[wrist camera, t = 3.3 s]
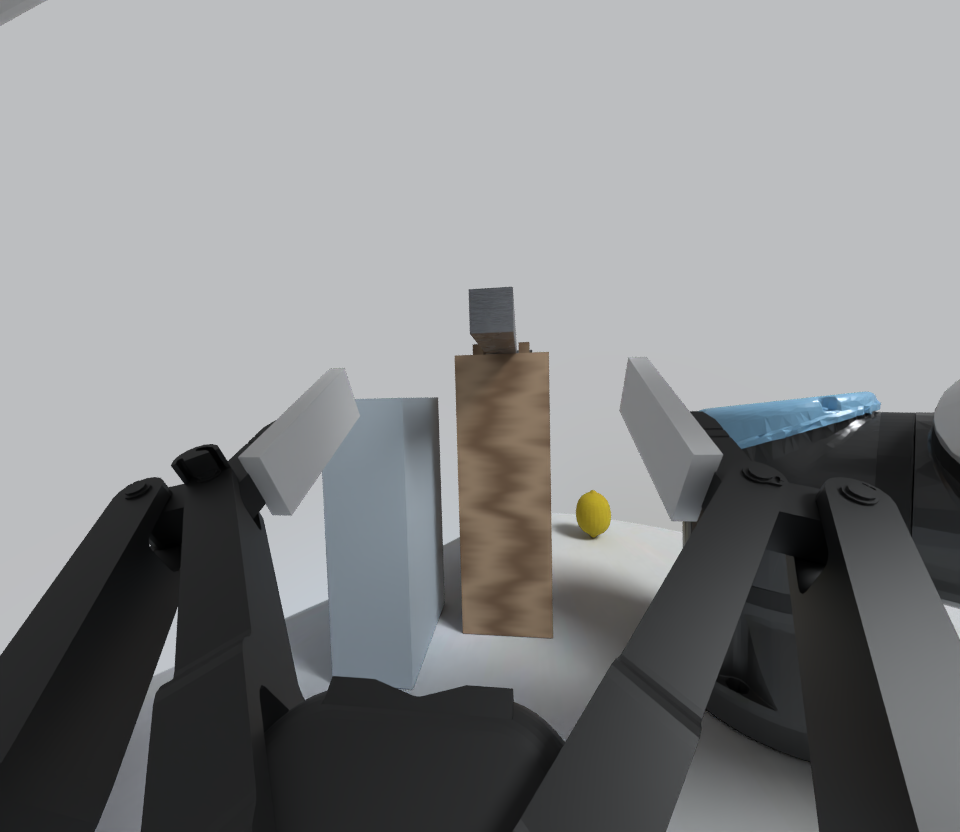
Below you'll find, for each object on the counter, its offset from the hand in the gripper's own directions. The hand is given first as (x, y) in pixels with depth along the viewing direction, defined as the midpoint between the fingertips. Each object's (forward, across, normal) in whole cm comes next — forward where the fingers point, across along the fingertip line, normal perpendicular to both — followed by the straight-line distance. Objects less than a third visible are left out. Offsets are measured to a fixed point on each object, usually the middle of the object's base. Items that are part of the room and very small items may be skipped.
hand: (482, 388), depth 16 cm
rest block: (+2, -11, -29) cm, 31 cm away
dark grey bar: (+19, 0, -7) cm, 20 cm away
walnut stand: (+10, 0, -34) cm, 36 cm away
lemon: (+24, +14, -42) cm, 50 cm away
